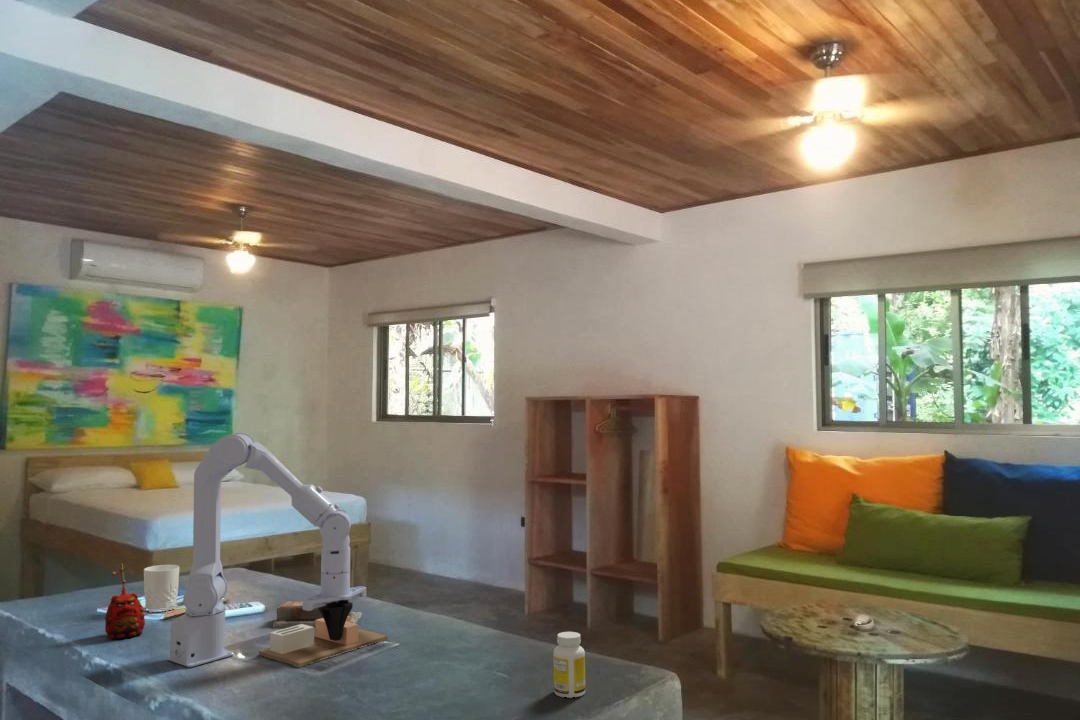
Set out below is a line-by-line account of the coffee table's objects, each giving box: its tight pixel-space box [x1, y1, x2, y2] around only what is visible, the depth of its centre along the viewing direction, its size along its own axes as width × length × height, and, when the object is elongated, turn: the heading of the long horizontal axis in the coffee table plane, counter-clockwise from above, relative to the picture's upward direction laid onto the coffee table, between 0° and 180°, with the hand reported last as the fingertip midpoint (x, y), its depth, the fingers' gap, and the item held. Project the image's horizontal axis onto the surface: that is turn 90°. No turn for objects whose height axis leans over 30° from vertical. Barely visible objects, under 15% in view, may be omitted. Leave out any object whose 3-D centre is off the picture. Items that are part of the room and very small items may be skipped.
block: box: [314, 616, 359, 645], centre depth 167 cm, size 6×10×4 cm, turn 53°
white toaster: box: [269, 624, 315, 654], centre depth 161 cm, size 8×4×4 cm, turn 143°
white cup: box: [143, 564, 181, 609], centre depth 194 cm, size 8×8×10 cm
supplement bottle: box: [552, 631, 586, 699], centre depth 137 cm, size 5×5×10 cm
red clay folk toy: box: [104, 563, 146, 640], centre depth 173 cm, size 8×7×15 cm
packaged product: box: [272, 600, 363, 629], centre depth 183 cm, size 18×5×10 cm
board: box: [258, 628, 389, 666], centre depth 163 cm, size 22×13×1 cm, turn 143°
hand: (335, 639), depth 162 cm, fingers closed
